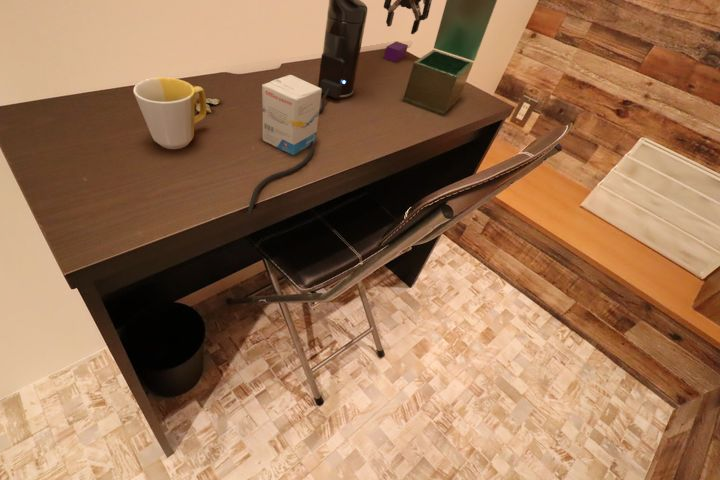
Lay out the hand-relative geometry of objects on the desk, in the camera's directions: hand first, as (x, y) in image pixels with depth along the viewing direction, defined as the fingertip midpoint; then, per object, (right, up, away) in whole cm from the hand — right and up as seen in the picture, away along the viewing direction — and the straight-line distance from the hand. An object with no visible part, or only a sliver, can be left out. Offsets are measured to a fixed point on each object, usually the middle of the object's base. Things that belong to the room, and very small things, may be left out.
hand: (400, 29), depth 117 cm
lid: (+11, -14, -24) cm, 30 cm away
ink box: (-33, -50, -39) cm, 71 cm away
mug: (-54, -51, -43) cm, 86 cm away
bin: (+6, -29, -14) cm, 33 cm away
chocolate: (-1, -6, +6) cm, 8 cm away
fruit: (-54, -40, -33) cm, 75 cm away
